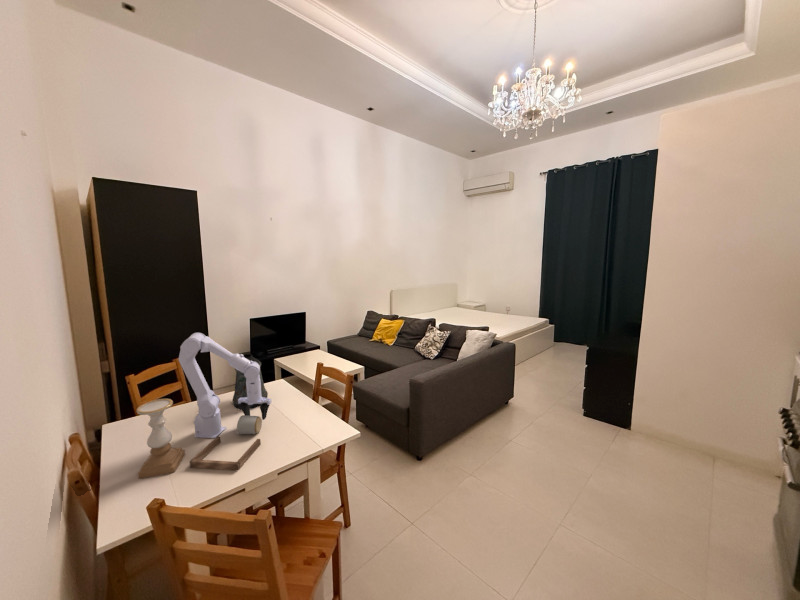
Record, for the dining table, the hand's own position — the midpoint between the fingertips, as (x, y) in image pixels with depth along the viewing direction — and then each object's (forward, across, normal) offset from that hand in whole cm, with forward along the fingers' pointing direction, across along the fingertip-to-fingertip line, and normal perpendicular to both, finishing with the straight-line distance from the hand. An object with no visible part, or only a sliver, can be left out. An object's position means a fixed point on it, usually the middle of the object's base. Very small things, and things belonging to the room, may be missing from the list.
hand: (256, 418), depth 139 cm
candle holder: (+4, -20, -28) cm, 35 cm away
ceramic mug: (+4, 0, -4) cm, 6 cm away
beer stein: (+4, -16, +21) cm, 26 cm away
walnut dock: (+3, 0, -20) cm, 21 cm away
